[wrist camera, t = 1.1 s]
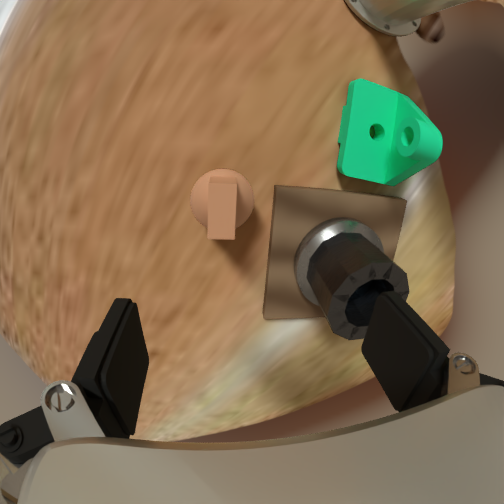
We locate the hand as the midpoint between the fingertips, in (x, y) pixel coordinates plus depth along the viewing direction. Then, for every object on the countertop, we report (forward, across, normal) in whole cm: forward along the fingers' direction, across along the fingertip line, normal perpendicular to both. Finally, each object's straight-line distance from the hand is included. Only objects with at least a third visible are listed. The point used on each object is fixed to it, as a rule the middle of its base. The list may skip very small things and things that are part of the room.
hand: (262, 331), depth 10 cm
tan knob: (+24, +1, -1) cm, 24 cm away
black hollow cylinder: (+23, -14, +8) cm, 28 cm away
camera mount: (+24, -16, -9) cm, 31 cm away
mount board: (+24, -14, +8) cm, 29 cm away
